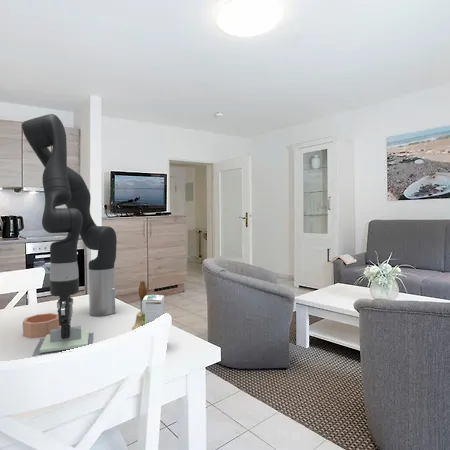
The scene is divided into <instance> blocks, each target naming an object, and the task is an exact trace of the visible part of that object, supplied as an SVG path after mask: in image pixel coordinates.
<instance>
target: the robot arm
mask: <svg viewBox="0 0 450 450" xmlns="http://www.w3.org/2000/svg"><path fill="white" fill-rule="evenodd" d="M21 129H22V133H23V135H24V136H25V139H26V141H27V142H28V144H29V145H30V147H31V149H32V150H33V152H34V153H35V155H36V156H37V157H38V159H39V161H40V162H41V164H42V166H43V167H44V169H43V173H42V187H43V188H42V189H43V193H44V208H43V209H44V210H43V213H42V218H41V225H42V228H43V229H44V231H45V232H47V233H49V234H65V233H67V236H66V237H65V238H64V239H61V240H57V241H54V242H51V244H50V246H49V257H50V258H49V260H50V265H49V289H50V290H49V294H50V295H51V296H53V297H59V299H58V301H57V302H56V308H57V314H58V318H59V326H60V328H61V338H62V339H66V338H69V337H70V327H72V326H71V322H72V316H73V304H74V298H72V297H71V296H74V295H76V294H78V293H79V292H80V279H79V277H80V275H79V264H78V244H79V243H78V242H79V237H80V238H81V240H82V242H83V244H84V246H85V247H86V248H88V249H89V250H92V251H97V254H96V255H97V256H96V257H95V258H94V259H91V260H89V262H88V293H89V295H88V300H89V301H88V302H89V308H88V309H89V315H90V316H94V317H102V316H103V317H104V316H108V315H112V314H116V288H115V287H116V286H115V285H116V283H115V263H116V258H117V232H116V230H115V229H114V227H112V226H108V225H107V226H105V225H103V226H102V225H97V224H96V222H95V221H94V219H93V218H92V215H91V209H90V208H91V199H92V197H91V192H90V190H89V188H88V185H87V184H86V181H85V180H84V178H83V176H81V174H79V173H78V172H77V171H75V170H74V169H72V168H71V167H69V166H68V159H67V158H68V155H67V154H68V150H67V148H68V146H67V145H68V144H67V143H68V141H67V135H66V134H67V132H66V129H65V126H64V124H63V121H62V120H61V119H60V117H58V115H56V114H53V113H49V114H45V115H41V116H38V117H34V118H30V119H28V120H25V121H23V122H22V123H21ZM49 147H50V148H51V147H52V150H51V151H50V149H49ZM63 205H64V206H65V208H60V207H59V206H63ZM56 207H59V208H56Z"/></svg>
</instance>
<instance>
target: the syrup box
mask: <svg viewBox="0 0 450 450" xmlns="http://www.w3.org/2000/svg"><path fill="white" fill-rule="evenodd" d="M163 314H164V315H165V295H163V294H162V295H161V294H148V295H146V296H145V297H144V299H143V300H142V326H143V325H145V324H147V323H149V322H152V321H154V320H155V319H156V318H158V317H160V316H161V315H163Z"/></svg>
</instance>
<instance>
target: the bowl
mask: <svg viewBox="0 0 450 450" xmlns="http://www.w3.org/2000/svg"><path fill="white" fill-rule="evenodd" d="M59 328H61V326H59V318H58V313H52V312H49V313H39V314H37V313H36V314H35V315H34V314H33V315H31V316H27V317H25V318H24V319H23V321H22V337H25V338H29V339H38V338H45V337H46V335H48V334H50V331H51V329H59Z"/></svg>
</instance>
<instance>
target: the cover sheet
mask: <svg viewBox="0 0 450 450" xmlns="http://www.w3.org/2000/svg"><path fill="white" fill-rule="evenodd" d="M89 333H90V329H84V330H82V325H78V326H71V327H70V337H69V338H66V339H62V338H61V327H60V328H59V329H51V331H50V334H48V335H46V337H44V338H45V339H44V341H43V344H42V346H41V348H40V353H43V352H51V351H58V350H66V349H74V348H78V347H82V346H86V345H88V339H89Z"/></svg>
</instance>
